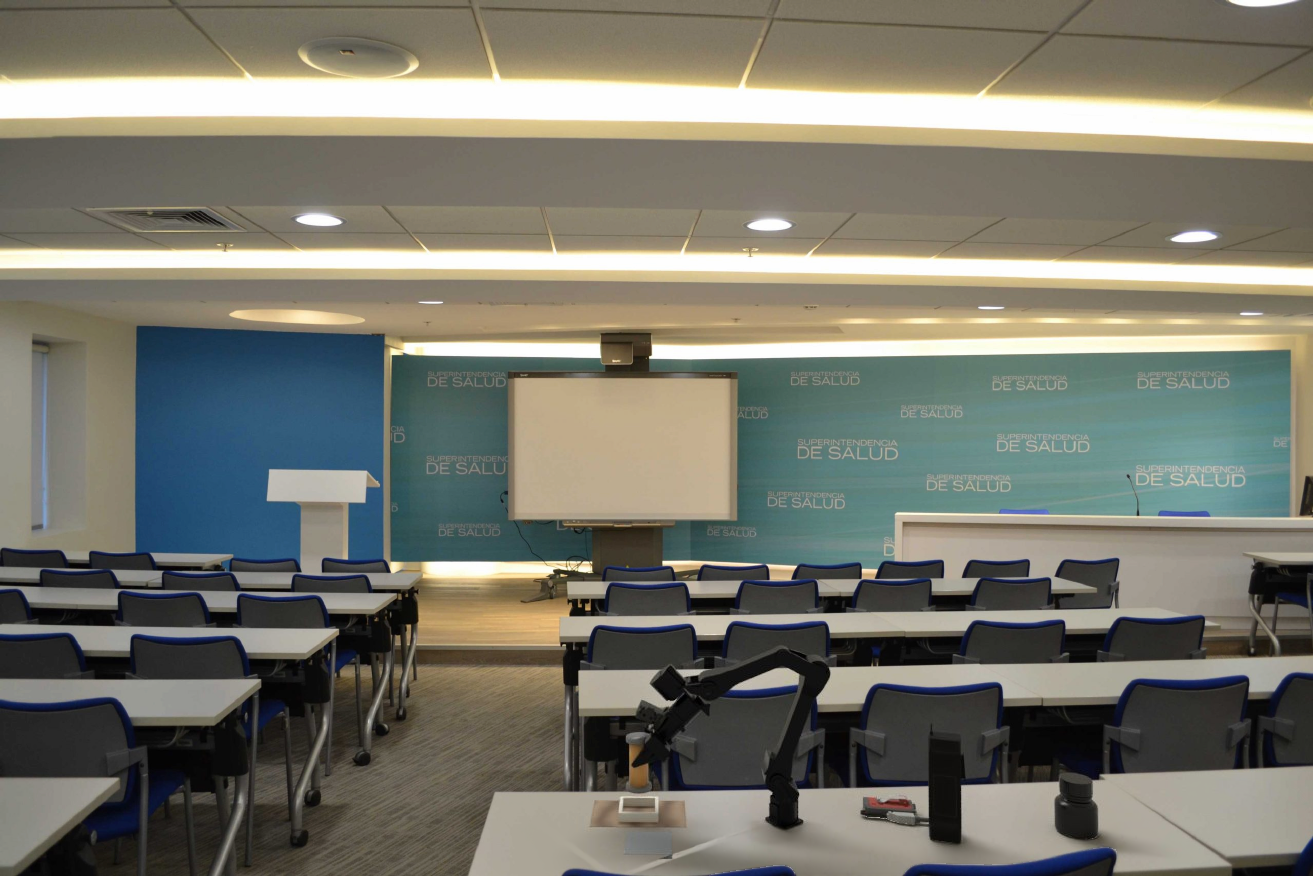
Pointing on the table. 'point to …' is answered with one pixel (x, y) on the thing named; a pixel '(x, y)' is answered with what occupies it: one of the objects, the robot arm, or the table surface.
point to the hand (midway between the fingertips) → (632, 762)
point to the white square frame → (638, 815)
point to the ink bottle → (1076, 807)
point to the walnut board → (667, 811)
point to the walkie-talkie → (892, 809)
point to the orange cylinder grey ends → (639, 774)
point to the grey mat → (649, 843)
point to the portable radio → (945, 786)
